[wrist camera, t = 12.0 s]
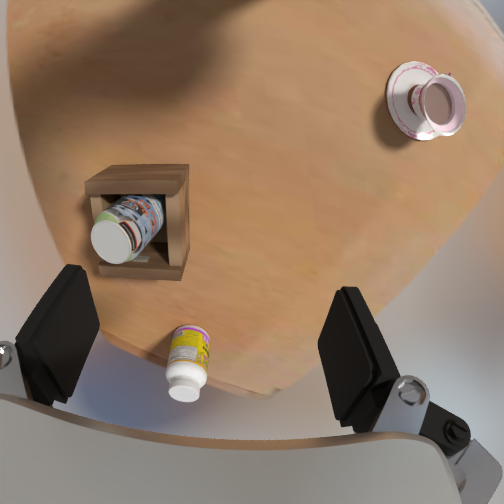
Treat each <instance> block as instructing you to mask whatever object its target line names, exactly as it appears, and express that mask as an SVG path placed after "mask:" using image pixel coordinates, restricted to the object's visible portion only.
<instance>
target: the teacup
mask: <svg viewBox="0 0 504 504" xmlns="http://www.w3.org/2000/svg"><path fill="white" fill-rule="evenodd" d="M415 85H419V86H417V87H416V88H415V89H414V91H413V93H412V97H411V102H412V107H413V109H414V111H415V113H416V114H417V115H416V114H414V113H413V112H412V110H411V109H410V107H409V105H408V99H407V97H408V92H409V90H410V89H411V88H412V87H413V86H415ZM386 96H387V104H388V109H389V111H390V114H391V116H392V119H393V121H394V122H395V123H396V125H397V126H398V127H399V129H400V130H401V131H402V132H404V133H405V134H406V135H408V136H409V137H411V138H414V139H417V140H420V141H422V140H431V139H433V138H435V137H437V136H439V135H442V136H450V135H453V134H454V133H456V132H457V131H458V130H459V129H460V127H461V126H462V124H463V121H464V119H465V114H466V101H465V96H464V93H463V90H462V88H461V86H460V85H459V83H458V82H457V81H456V80H455V79H454V78H452V77H451V73H449V74H446V73H445V74H439V73H438V72H437V71H435V70H434V69H433V68H432V67H431V66H429V65H426V64H424V63H422V62H413V61H410V62H407V63H404V64H401V65H400V66H399V67H398V68H397V69H395V70H394V71H393V73H392V75H391V77H390V79H389V81H388V86H387V93H386Z"/></svg>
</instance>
